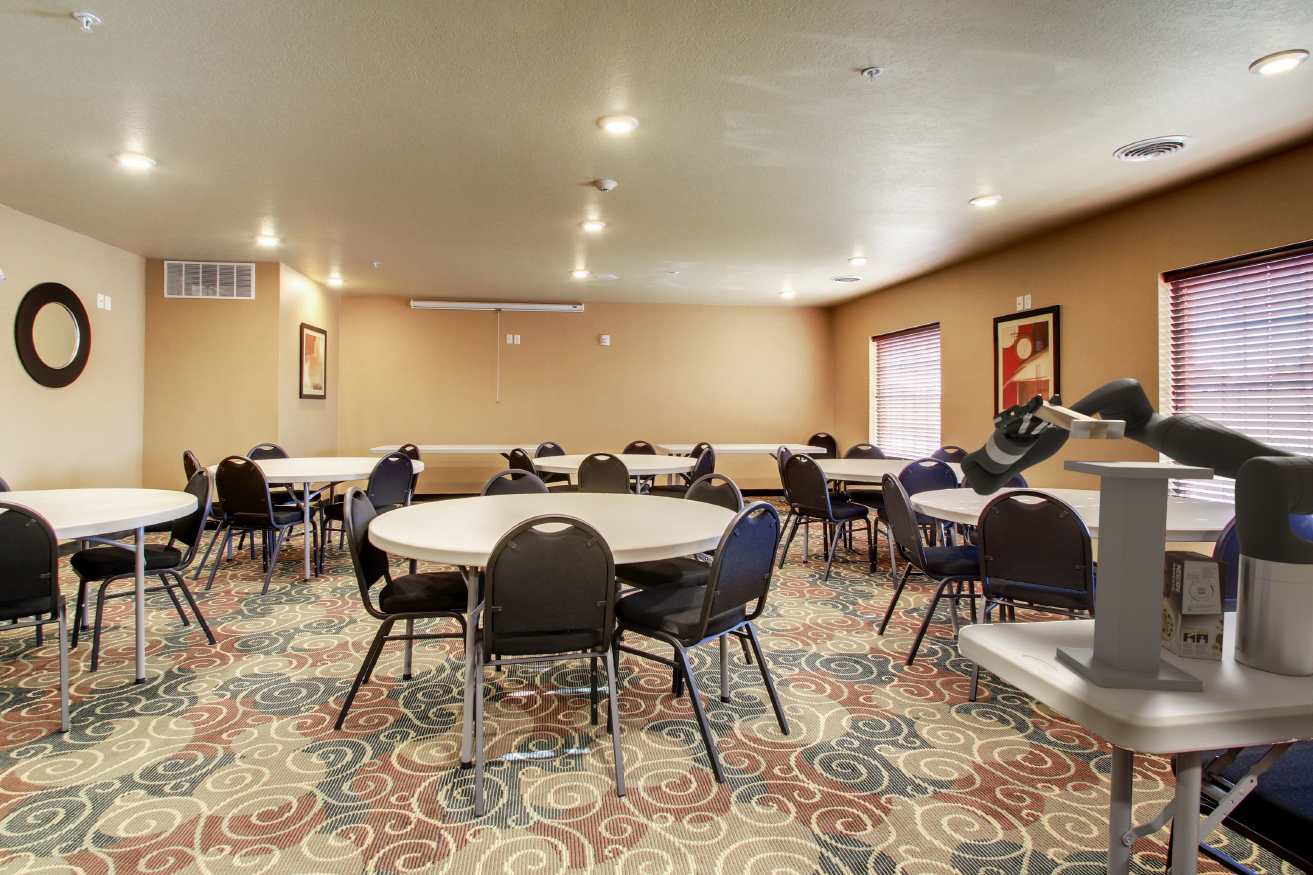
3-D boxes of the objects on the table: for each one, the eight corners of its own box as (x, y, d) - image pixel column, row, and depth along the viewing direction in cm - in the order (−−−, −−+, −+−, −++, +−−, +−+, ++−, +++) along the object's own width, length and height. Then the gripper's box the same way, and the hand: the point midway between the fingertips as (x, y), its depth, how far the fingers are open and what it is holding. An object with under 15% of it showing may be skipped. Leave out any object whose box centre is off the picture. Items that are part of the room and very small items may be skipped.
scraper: (1054, 412, 129) (1056, 398, 129) (1122, 439, 108) (1125, 421, 107) (1012, 412, 130) (1014, 397, 129) (1072, 438, 109) (1074, 420, 108)
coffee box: (1224, 661, 106) (1229, 562, 105) (1179, 657, 107) (1184, 559, 106) (1190, 641, 115) (1195, 550, 114) (1149, 638, 116) (1153, 548, 115)
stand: (1146, 659, 106) (1155, 462, 104) (1202, 691, 94) (1213, 468, 92) (1056, 656, 107) (1064, 460, 105) (1100, 686, 95) (1109, 466, 93)
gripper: (1049, 457, 137) (1093, 416, 121) (980, 455, 138) (1015, 415, 123) (1041, 425, 140) (1083, 382, 125) (974, 424, 141) (1007, 381, 126)
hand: (1049, 398), depth 124 cm, fingers closed on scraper, 2 cm apart
